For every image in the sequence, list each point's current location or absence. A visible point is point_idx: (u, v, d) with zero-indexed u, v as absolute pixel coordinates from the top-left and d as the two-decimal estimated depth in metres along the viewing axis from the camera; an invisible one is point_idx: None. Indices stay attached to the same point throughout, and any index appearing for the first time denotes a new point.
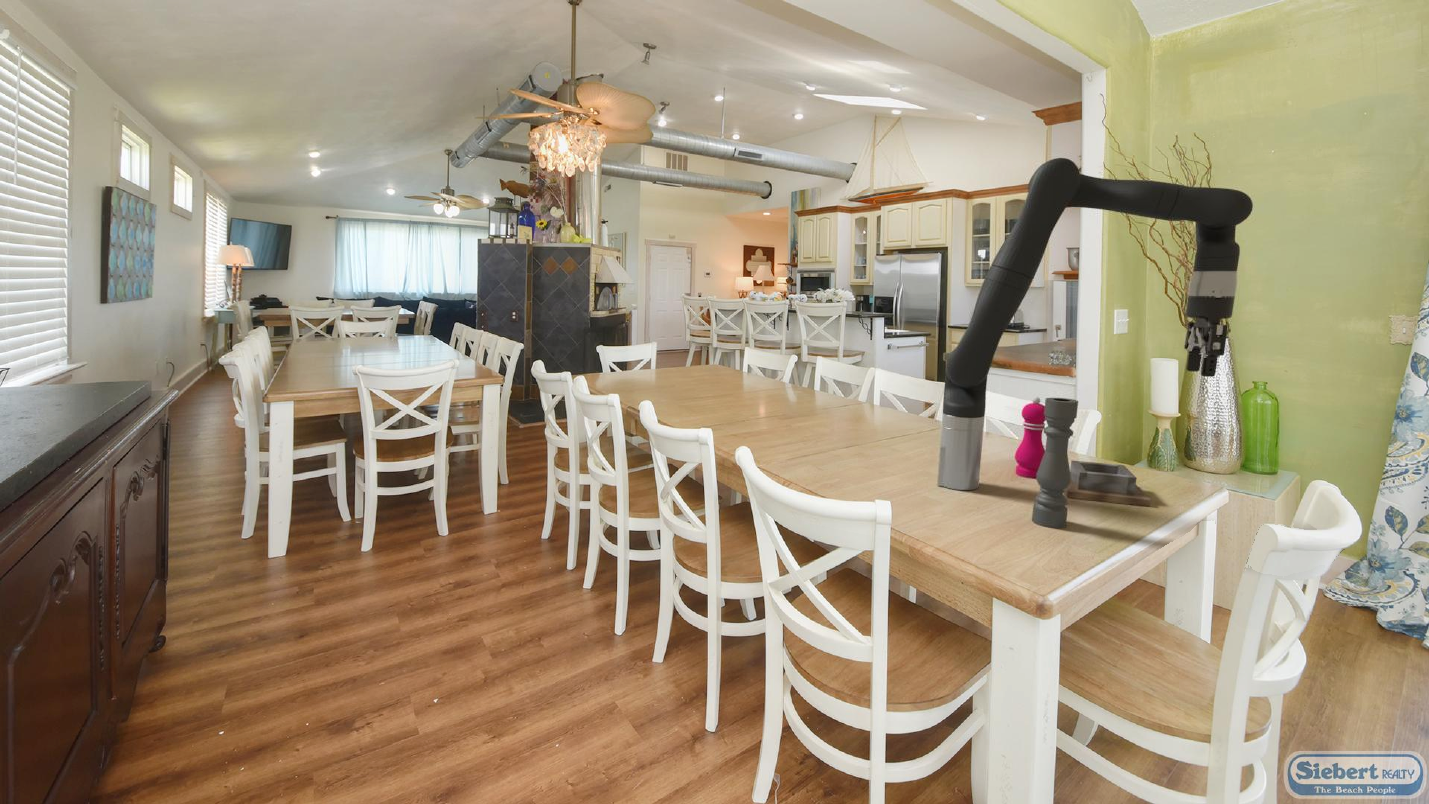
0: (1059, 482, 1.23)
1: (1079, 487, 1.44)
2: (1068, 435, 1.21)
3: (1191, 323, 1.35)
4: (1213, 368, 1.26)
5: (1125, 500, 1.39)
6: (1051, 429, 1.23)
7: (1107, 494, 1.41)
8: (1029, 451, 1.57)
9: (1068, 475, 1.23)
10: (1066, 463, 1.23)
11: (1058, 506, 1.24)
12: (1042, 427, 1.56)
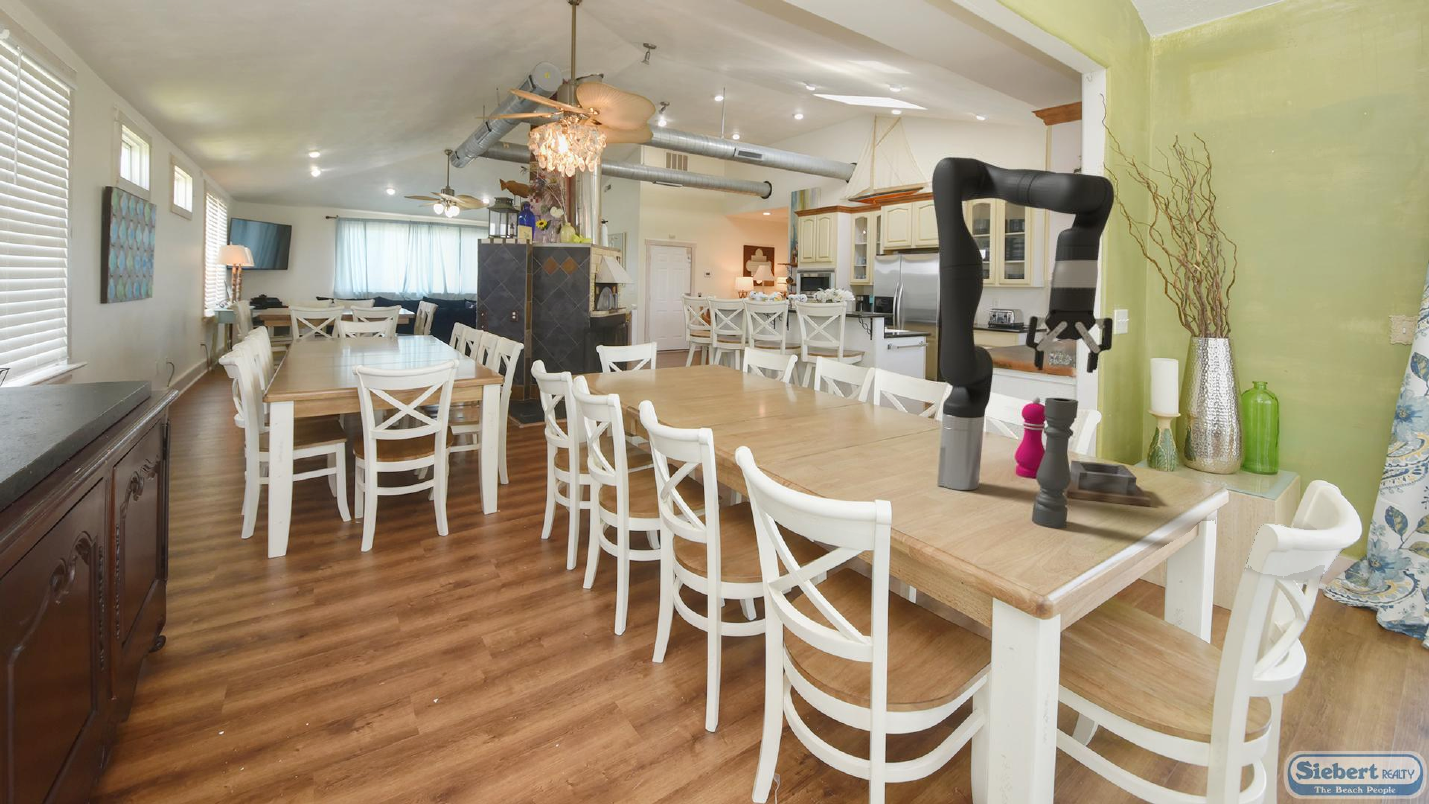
0: (1059, 482, 1.23)
1: (1079, 487, 1.44)
2: (1068, 435, 1.21)
3: (1037, 318, 1.21)
4: None
5: (1125, 500, 1.39)
6: (1051, 429, 1.23)
7: (1107, 494, 1.41)
8: (1029, 451, 1.57)
9: (1068, 475, 1.23)
10: (1066, 463, 1.23)
11: (1058, 506, 1.24)
12: (1042, 427, 1.56)
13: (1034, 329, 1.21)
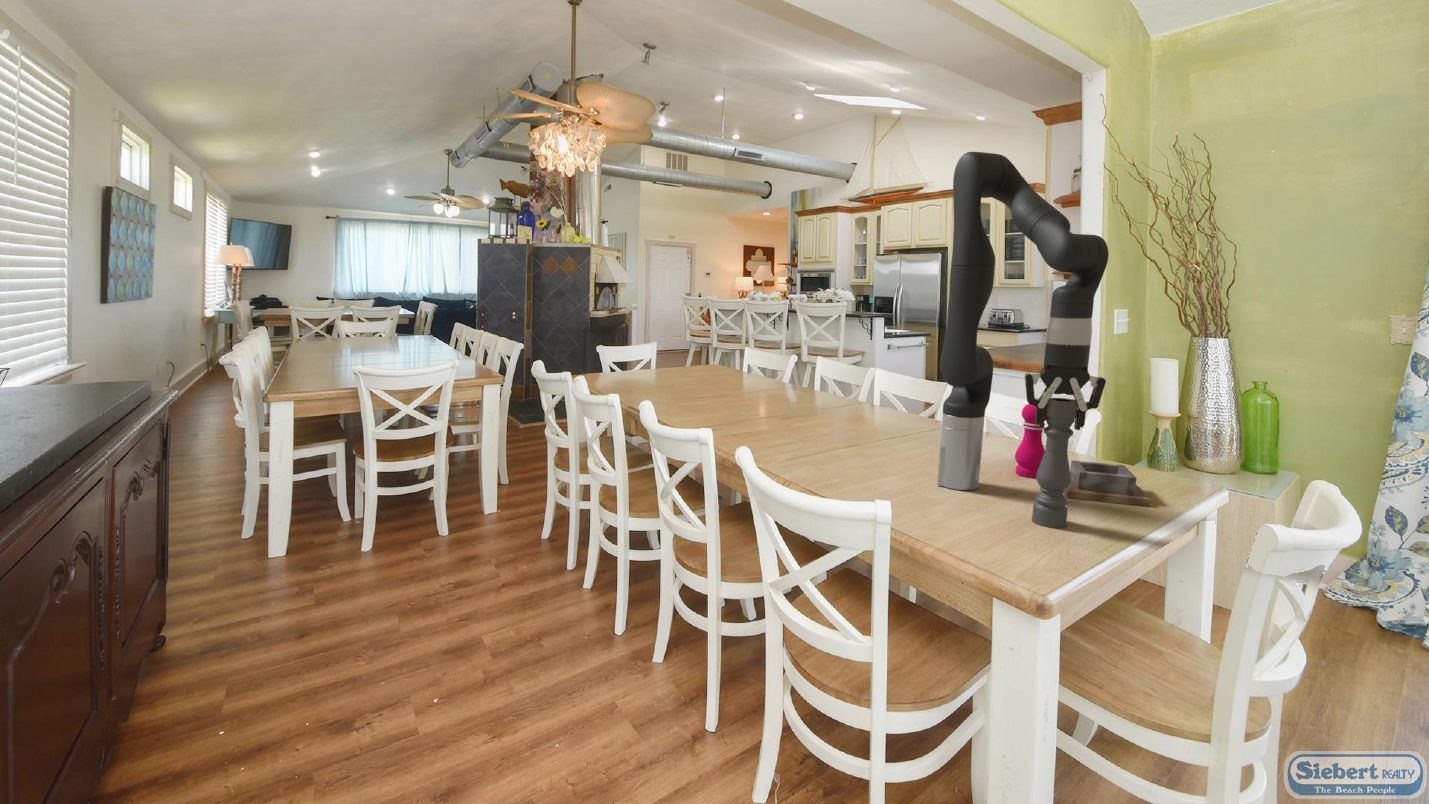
0: (1059, 482, 1.23)
1: (1079, 487, 1.44)
2: (1068, 435, 1.21)
3: (1031, 375, 1.23)
4: None
5: (1125, 500, 1.39)
6: (1051, 429, 1.23)
7: (1107, 494, 1.41)
8: (1029, 451, 1.57)
9: (1068, 475, 1.23)
10: (1066, 463, 1.23)
11: (1058, 506, 1.24)
12: (1042, 427, 1.56)
13: (1032, 386, 1.23)
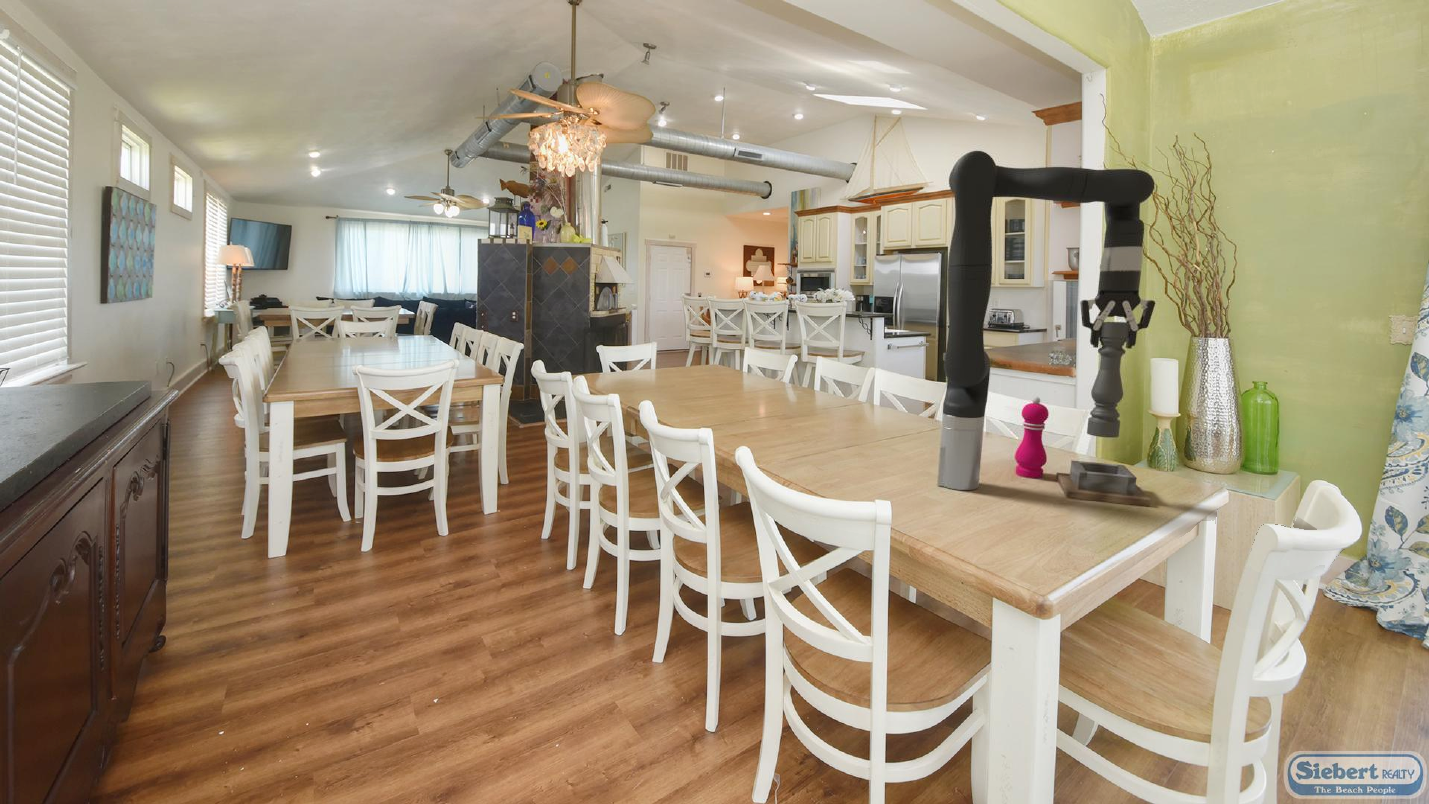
0: (1113, 395, 1.37)
1: (1079, 487, 1.44)
2: (1121, 353, 1.36)
3: (1087, 301, 1.38)
4: None
5: (1125, 500, 1.39)
6: (1105, 348, 1.38)
7: (1107, 494, 1.41)
8: (1029, 451, 1.57)
9: (1121, 389, 1.38)
10: (1119, 379, 1.38)
11: (1111, 418, 1.39)
12: (1042, 427, 1.56)
13: (1087, 311, 1.38)
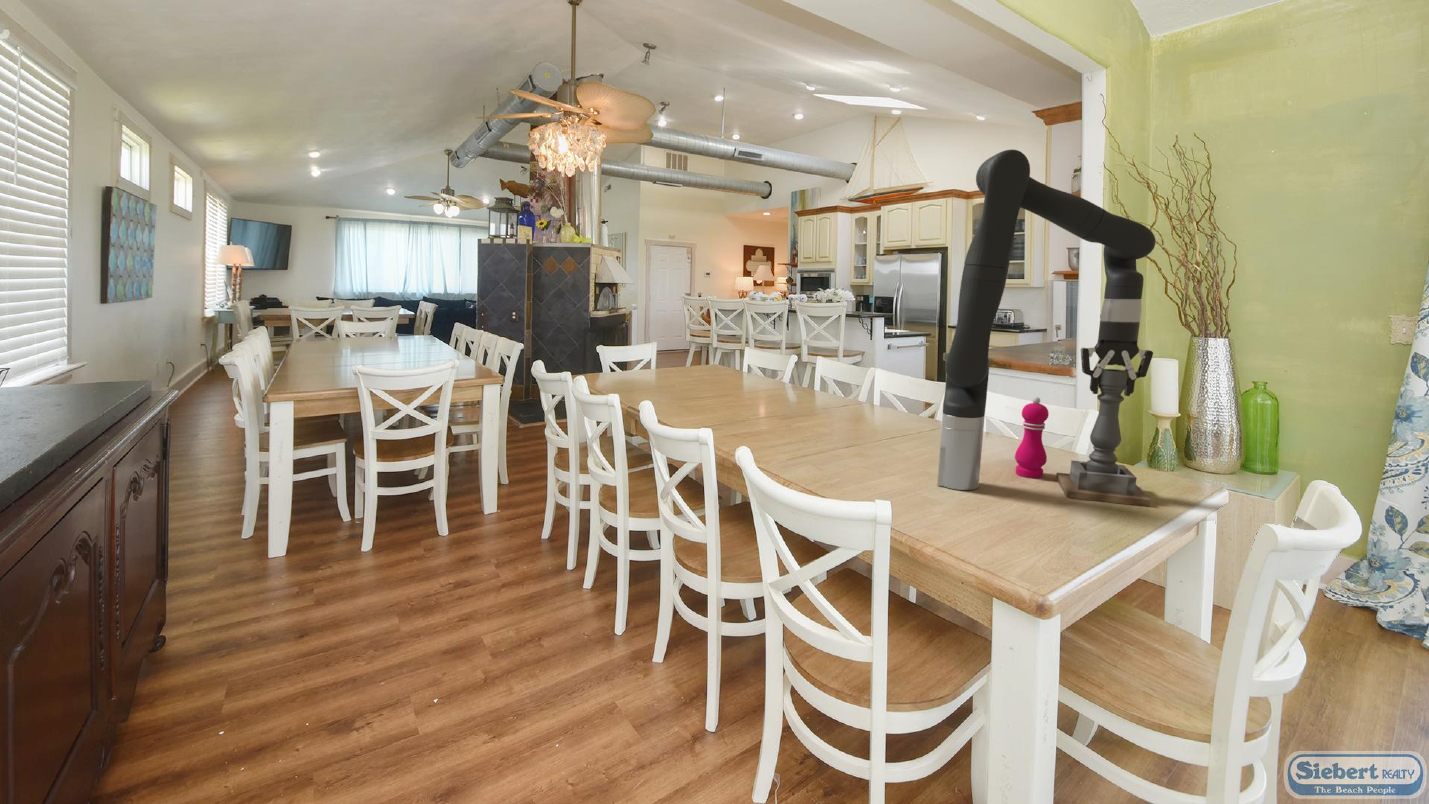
0: (1111, 441, 1.42)
1: (1079, 487, 1.44)
2: (1119, 400, 1.41)
3: (1087, 349, 1.43)
4: None
5: (1125, 500, 1.39)
6: (1104, 395, 1.42)
7: (1107, 494, 1.41)
8: (1029, 451, 1.57)
9: (1119, 435, 1.42)
10: (1117, 425, 1.42)
11: (1109, 462, 1.43)
12: (1042, 427, 1.56)
13: (1087, 359, 1.43)
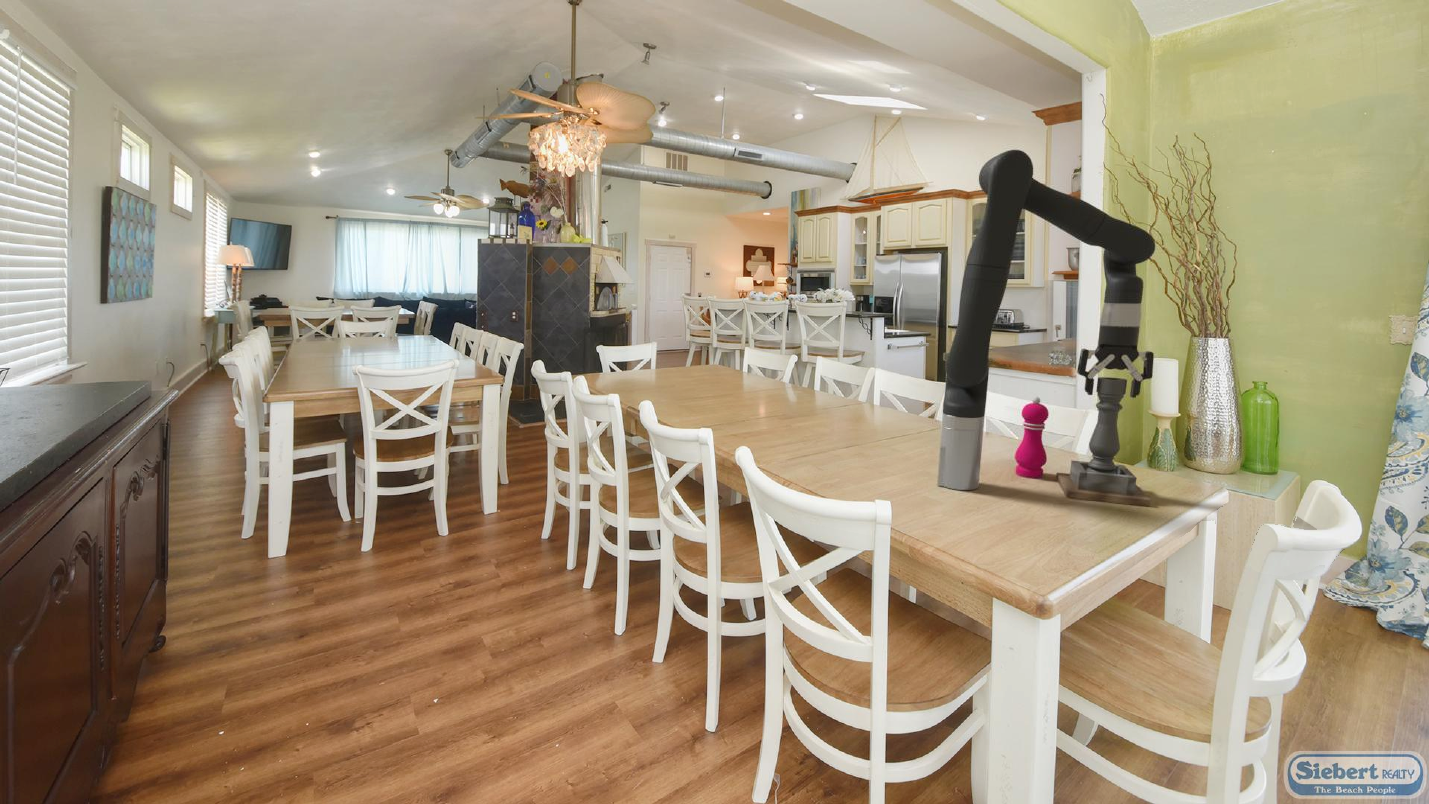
0: (1110, 449, 1.42)
1: (1079, 487, 1.44)
2: (1118, 409, 1.41)
3: (1088, 350, 1.43)
4: None
5: (1125, 500, 1.39)
6: (1103, 404, 1.43)
7: (1107, 494, 1.41)
8: (1029, 451, 1.57)
9: (1118, 443, 1.43)
10: (1116, 433, 1.43)
11: (1108, 471, 1.44)
12: (1042, 427, 1.56)
13: (1085, 360, 1.43)
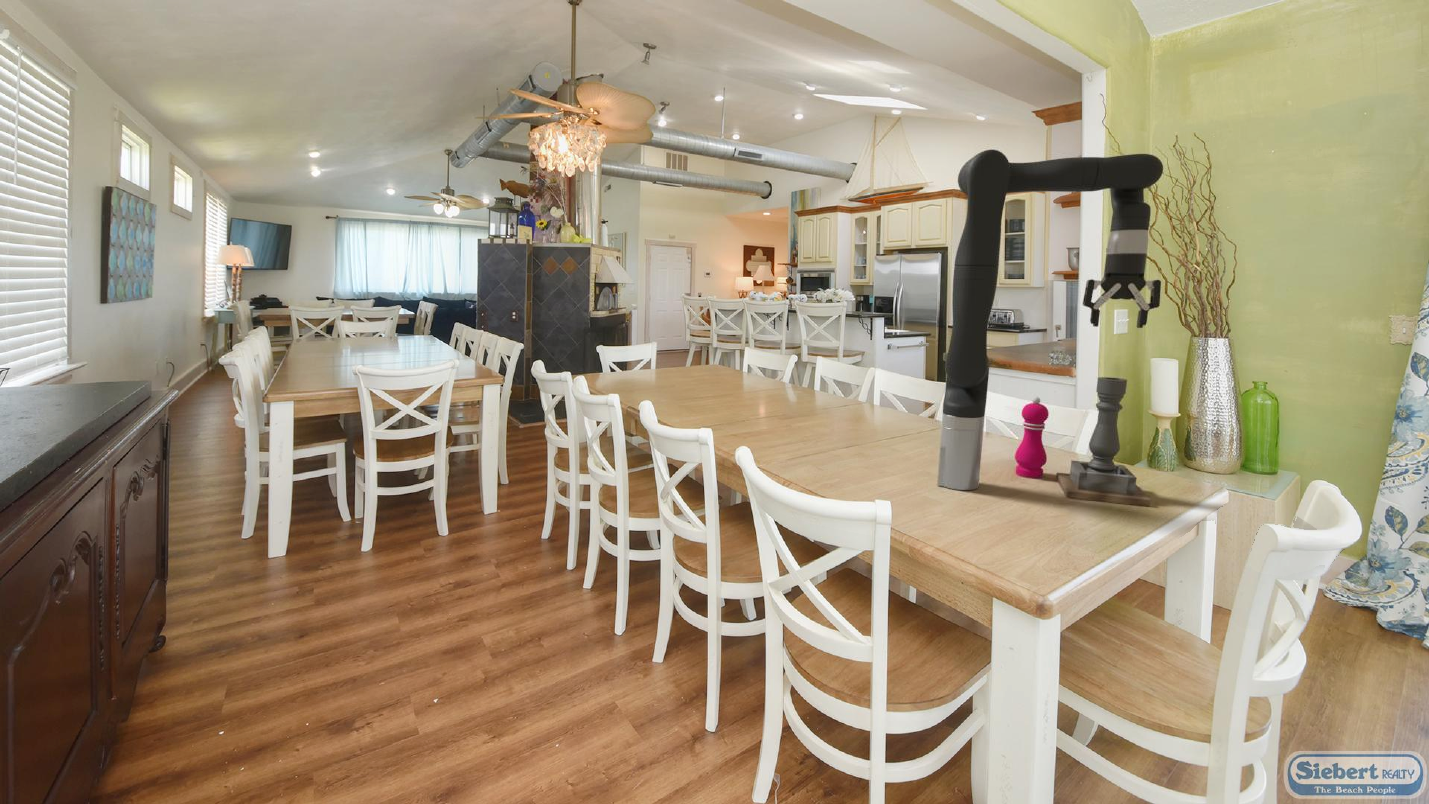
0: (1110, 449, 1.42)
1: (1079, 487, 1.44)
2: (1118, 409, 1.41)
3: (1094, 281, 1.40)
4: None
5: (1125, 500, 1.39)
6: (1103, 404, 1.43)
7: (1107, 494, 1.41)
8: (1029, 451, 1.57)
9: (1118, 443, 1.43)
10: (1116, 433, 1.43)
11: (1108, 471, 1.44)
12: (1042, 427, 1.56)
13: (1091, 290, 1.41)
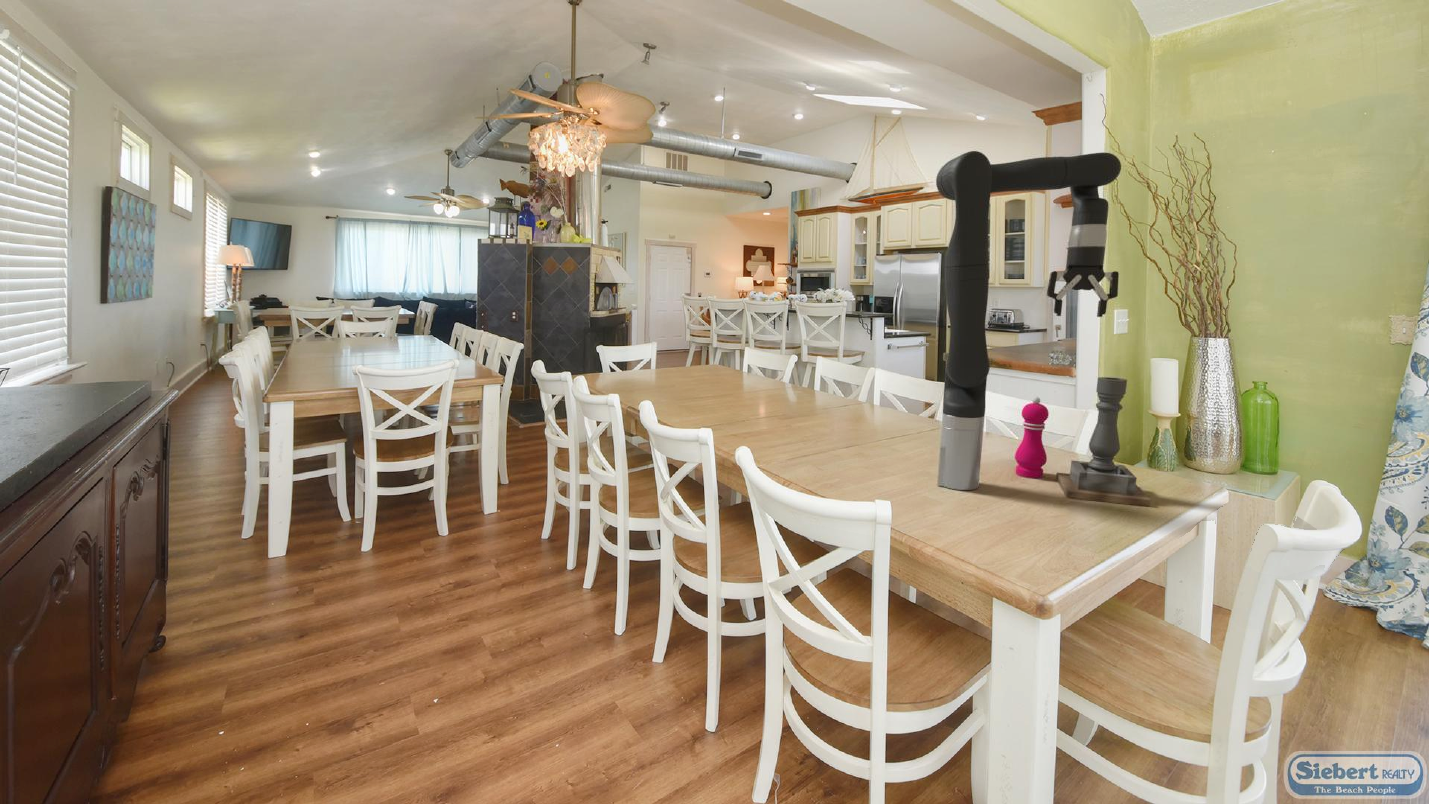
0: (1110, 449, 1.42)
1: (1079, 487, 1.44)
2: (1118, 409, 1.41)
3: (1056, 272, 1.48)
4: None
5: (1125, 500, 1.39)
6: (1103, 404, 1.43)
7: (1107, 494, 1.41)
8: (1029, 451, 1.57)
9: (1118, 443, 1.43)
10: (1116, 433, 1.43)
11: (1108, 471, 1.44)
12: (1042, 427, 1.56)
13: (1054, 282, 1.49)
